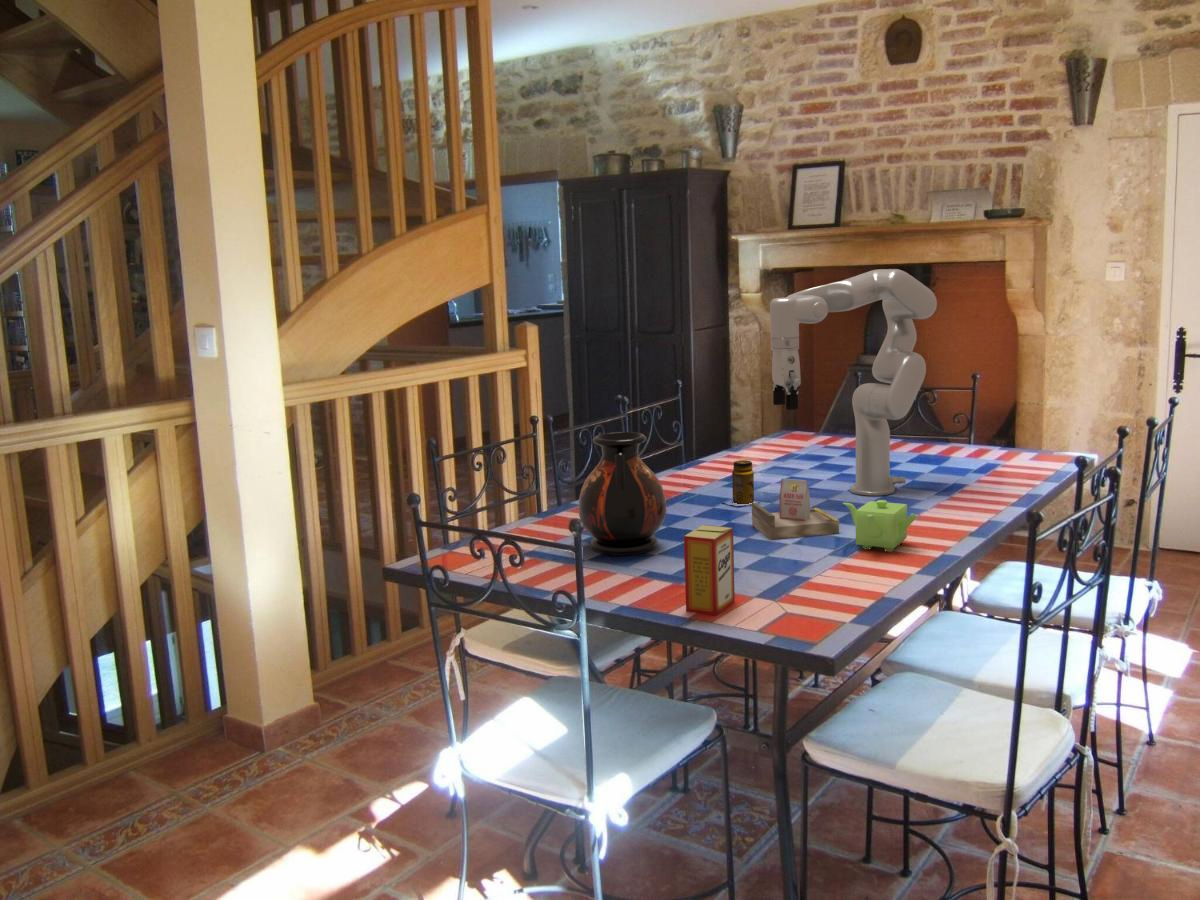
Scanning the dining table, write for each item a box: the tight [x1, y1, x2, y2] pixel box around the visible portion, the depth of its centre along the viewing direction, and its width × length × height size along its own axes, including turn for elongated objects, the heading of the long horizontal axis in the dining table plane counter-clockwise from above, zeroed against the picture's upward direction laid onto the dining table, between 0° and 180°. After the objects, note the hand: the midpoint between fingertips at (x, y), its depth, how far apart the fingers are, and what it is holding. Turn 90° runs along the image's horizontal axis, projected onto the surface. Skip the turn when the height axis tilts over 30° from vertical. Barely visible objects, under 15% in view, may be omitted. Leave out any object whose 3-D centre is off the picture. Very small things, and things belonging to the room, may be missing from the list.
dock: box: [751, 503, 840, 540], centre depth 266 cm, size 18×14×6 cm
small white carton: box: [778, 478, 811, 521], centre depth 265 cm, size 4×7×10 cm, turn 59°
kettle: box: [842, 499, 918, 552], centre depth 247 cm, size 15×14×11 cm
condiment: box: [731, 459, 755, 504], centre depth 295 cm, size 7×8×12 cm
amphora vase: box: [577, 431, 667, 556], centre depth 254 cm, size 22×22×28 cm
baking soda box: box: [683, 524, 736, 616], centre depth 210 cm, size 10×6×16 cm
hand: (785, 406), depth 283 cm, fingers open, 9 cm apart
